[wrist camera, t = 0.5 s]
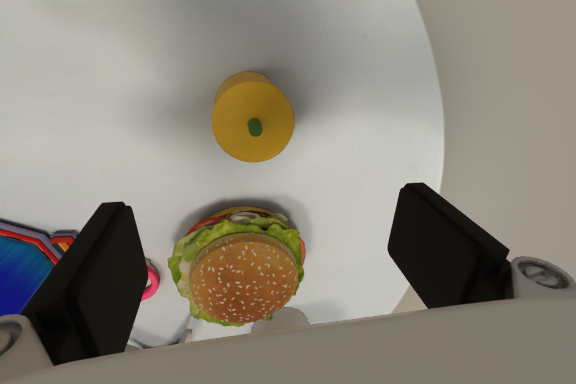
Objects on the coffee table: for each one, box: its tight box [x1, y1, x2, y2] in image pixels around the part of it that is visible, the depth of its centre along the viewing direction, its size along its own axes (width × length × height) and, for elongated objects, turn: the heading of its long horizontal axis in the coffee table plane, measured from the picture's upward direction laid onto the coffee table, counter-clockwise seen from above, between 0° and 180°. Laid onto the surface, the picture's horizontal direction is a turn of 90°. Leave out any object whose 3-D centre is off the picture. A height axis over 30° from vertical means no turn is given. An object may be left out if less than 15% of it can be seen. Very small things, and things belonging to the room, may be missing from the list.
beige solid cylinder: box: [252, 308, 309, 333], centre depth 37 cm, size 8×8×12 cm
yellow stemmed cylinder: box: [212, 72, 294, 162], centre depth 24 cm, size 6×6×8 cm
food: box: [168, 206, 305, 327], centre depth 31 cm, size 14×14×8 cm
